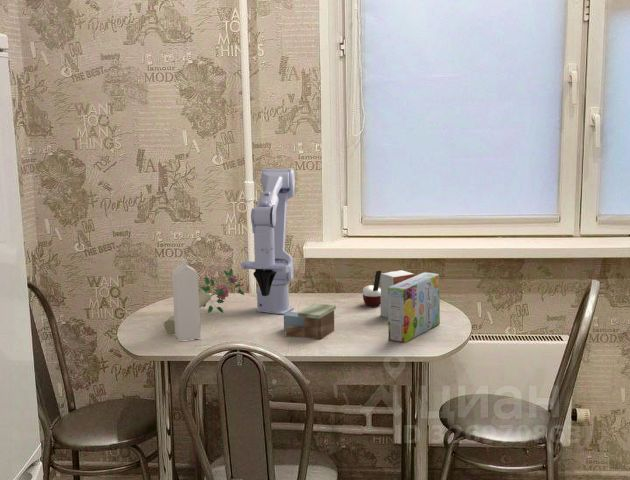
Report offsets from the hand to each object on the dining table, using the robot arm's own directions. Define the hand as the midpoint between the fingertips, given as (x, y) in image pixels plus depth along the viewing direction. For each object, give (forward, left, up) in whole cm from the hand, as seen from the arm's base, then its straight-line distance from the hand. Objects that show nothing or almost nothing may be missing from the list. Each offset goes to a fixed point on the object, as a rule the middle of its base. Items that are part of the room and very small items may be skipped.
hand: (265, 295), depth 226 cm
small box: (+31, +26, -10) cm, 41 cm away
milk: (-15, -17, -10) cm, 25 cm away
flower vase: (-22, 0, -10) cm, 24 cm away
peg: (+12, 0, -10) cm, 15 cm away
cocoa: (+20, +34, -10) cm, 40 cm away
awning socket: (+15, 0, -9) cm, 17 cm away
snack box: (+41, +12, -10) cm, 43 cm away
